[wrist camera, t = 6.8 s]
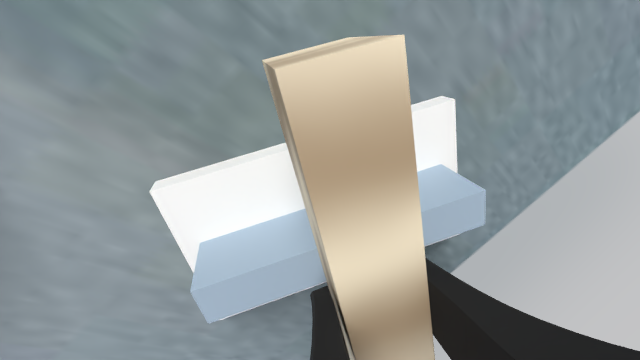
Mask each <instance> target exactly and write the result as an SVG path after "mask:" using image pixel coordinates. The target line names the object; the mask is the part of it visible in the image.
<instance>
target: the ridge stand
mask: <svg viewBox="0 0 640 360" xmlns="http://www.w3.org/2000/svg"><path fill="white" fill-rule="evenodd" d="M411 112H412V122H413V133H414V144H415V154H416V165H417V175H418V186H419V196H420V207H421V218H422V228H423V239H424V247H425V246H428V245H431V244H434V243H436V242H439V241H442V240H445V239H448V238H450V237H453V236H456V235H459V234H460V233H463V232H465V231H468V230H471V229H474V228H477V227H479V226H482V225H485V206H486V190H485V189H483V188H481V187H480V186H478V185H476V184H474V183H473V182H471V181H469V180H468V179H466V178H464V177H463V176H461V175H459V174H457V147H456V116H455V99H452V98H448V97H444V96H440V97H437V98H433V99H430V100H426V101H423V102H420V103H416V104H413V105H411ZM149 192H150V194H151V195H152V197H153V199H154V201H155V203H156V205H157V206H158V208H159V210H160V212H161V214H162V216H163V217H164V219H165V221H166V223H167V225H168V227H169V229H170V230H171V232H172V234H173V236H174V238H175V240H176V241H177V243H178V245H179V247H180V249H181V251H182V252H183V254H184V256H185V258H186V260H187V262H188V264H189V265H190V267H191V269H192V271H193V273H194V275H193V280H192V285H191V291H190V292H191V294H192V296H193V298H194V299H195V301H196V303H197V305H198V306H199V308H200V310H201V312H202V313H203V315H204V317H205V319H206V320H207V322H208V324H209V323H212V322H215V321H217V320H222V319H225V318H228V317H230V316H233V315H236V314H239V313H242V312H244V311H247V310H250V309H253V308H255V307H258V306H261V305H264V304H267V303H269V302H272V301H275V300H278V299H281V298H283V297H286V296H289V295H292V294H294V293H297V292H300V291H303V290H306V289H308V288H311V287H314V286H317V285H319V284H322V283H325V282H327V281H326V277H325V274H324V270H323V267H322V264H321V260H320V257H319V253H318V250H317V247H316V243H315V240H314V236H313V233H312V229H311V226H310V223H309V219H308V216H307V212H306V209H305V206H304V202H303V199H302V195H301V192H300V188H299V185H298V182H297V178H296V175H295V171H294V168H293V165H292V161H291V158H290V154H289V151H288V147H287V144H286V143H283V144H279V145H276V146H273V147H269V148H266V149H262V150H259V151H256V152H252V153H249V154H246V155H242V156H239V157H236V158H232V159H229V160H226V161H222V162H219V163H216V164H212V165H209V166H206V167H202V168H199V169H196V170H192V171H189V172H185V173H182V174H179V175H175V176H172V177H169V178H165V179H162V180H159V181H155V183H154V185H153V186H152V188H151V190H150V191H149Z"/></svg>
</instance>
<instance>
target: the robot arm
mask: <svg viewBox="0 0 640 360" xmlns="http://www.w3.org/2000/svg"><path fill="white" fill-rule="evenodd" d="M425 260H426V270H427V281H428V292H429V302H430V313H431V323H432V334H433V335H434V336H435V338H436V339H437V341H438V342H439V343H440V345H441V346H442V348H443V349H444V350H445V352H446V353H447V354H448V356H449V357H450V359H451V360H640V351H636V350H633V349H629V348H625V347H621V346H617V345H614V344H610V343H607V342H604V341H601V340H597V339H594V338H591V337H588V336H585V335H582V334H579V333H576V332H573V331H570V330H567V329H565V328H562V327H559V326H556V325H554V324H551V323H548V322H546V321H543V320H540V319H538V318H535V317H533V316H531V315H528V314H526V313H523V312H521V311H519V310H517V309H515V308H512V307H510V306H508V305H506V304H504V303H502V302H500V301H498V300H496V299H494V298H492V297H490V296H488V295H486V294H484V293H482V292H481V291H479V290H477V289H475V288H473V287H472V286H470V285H468V284H466V283H465V282H463V281H461V280H459V279H458V278H456V277H455V276H453V275H451V274H450V273H448V272H446V271H445V270H443V269H442V268H440V267H439V266H437V265H435V264H434V263H432V262H431V261H429V260H428V259H426V258H425ZM310 296H311V301H312V315H313V327H312V347H311V357H310V360H350V358H349V354H348V350H347V346H346V343H345V339H344V336H343V332H342V329H341V326H340V322H339V319H338V315H337V312H336V308H335V305H334V301H333V299H332V296H331V294H330V291H329V289H328V286H326V287H323V288H320V289H318V290H315V291H312V293H311V294H310Z"/></svg>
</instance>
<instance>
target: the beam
mask: <svg viewBox="0 0 640 360" xmlns="http://www.w3.org/2000/svg"><path fill="white" fill-rule="evenodd" d="M262 62H263V65H264V69H265V72H266V76H267V79H268V83H269V86H270V89H271V93H272V96H273V100H274V103H275V106H276V110H277V113H278V117H279V120H280V124H281V127H282V130H283V134H284V137H285V141H286V144H287V147H288V151H289V154H290V158H291V161H292V165H293V168H294V171H295V175H296V178H297V182H298V185H299V188H300V192H301V195H302V199H303V202H304V206H305V209H306V212H307V216H308V219H309V223H310V226H311V229H312V233H313V236H314V240H315V243H316V247H317V250H318V253H319V257H320V260H321V264H322V267H323V270H324V274H325V277H326V281H327V284H328V288H329V291H330V294H331V296H332V299H333V301H334V305H335V308H336V312H337V315H338V319H339V322H340V326H341V329H342V332H343V336H344V339H345V343H346V346H347V350H348V354H349V358H350V360H435V355H434V344H433V334H432V323H431V313H430V302H429V292H428V281H427V270H426V260H425V249H424V239H423V228H422V218H421V207H420V196H419V186H418V175H417V165H416V154H415V144H414V133H413V122H412V112H411V101H410V91H409V80H408V70H407V59H406V48H405V38H404V35H389V36H369V37H349V38H344V39H341V40H337V41H333V42H329V43H325V44H322V45H318V46H314V47H310V48H306V49H303V50H299V51H295V52H291V53H288V54H284V55H280V56H276V57H272V58H269V59H265V60H262Z"/></svg>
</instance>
